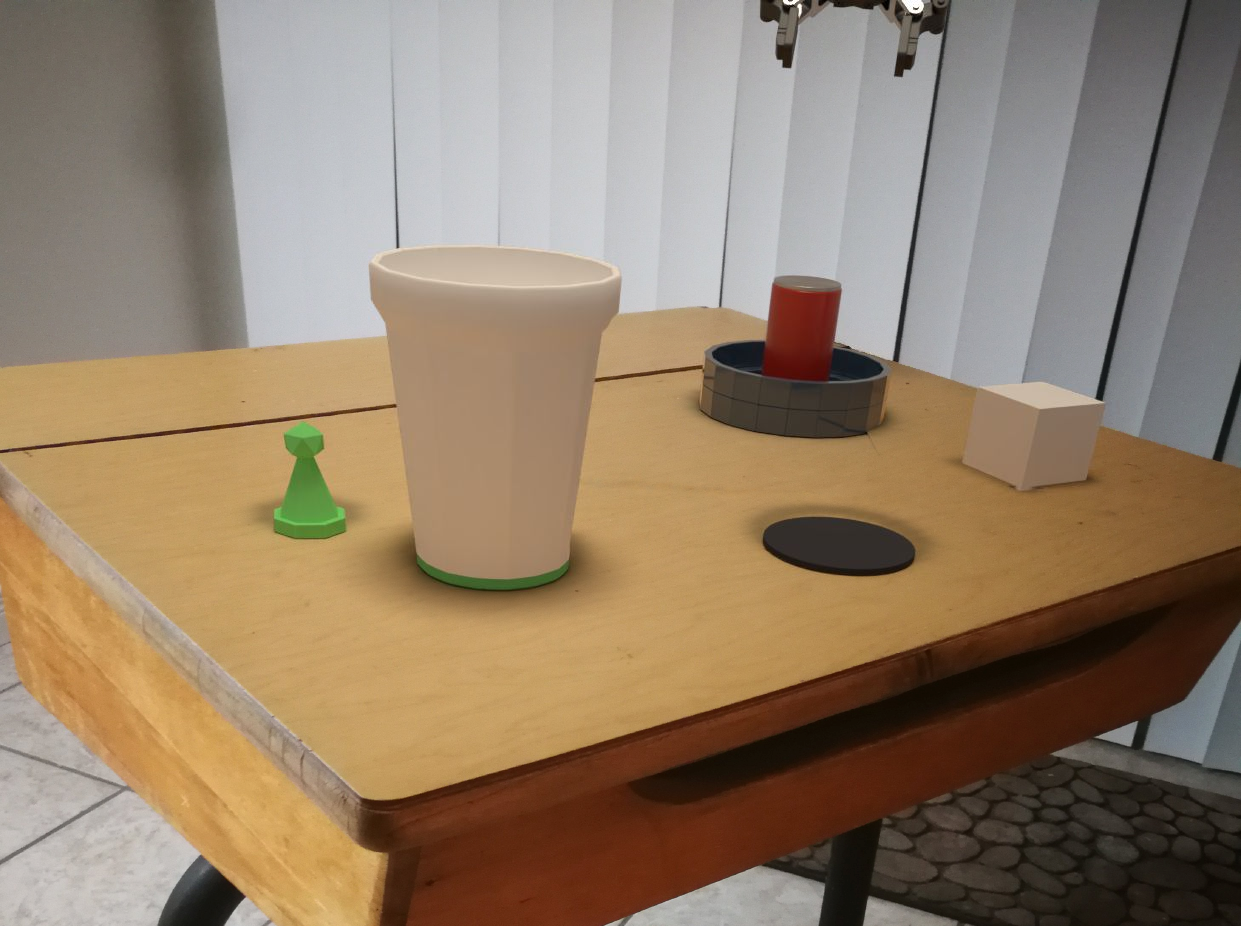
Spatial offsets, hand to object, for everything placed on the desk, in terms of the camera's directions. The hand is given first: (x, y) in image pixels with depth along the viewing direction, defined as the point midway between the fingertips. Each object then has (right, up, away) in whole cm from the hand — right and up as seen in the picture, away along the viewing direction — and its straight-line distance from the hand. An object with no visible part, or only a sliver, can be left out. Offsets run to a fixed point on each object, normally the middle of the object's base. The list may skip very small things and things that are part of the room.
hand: (843, 64), depth 99 cm
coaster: (-4, -42, -21) cm, 47 cm away
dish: (-4, -26, +3) cm, 26 cm away
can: (-4, -25, +3) cm, 26 cm away
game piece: (-35, -41, -23) cm, 59 cm away
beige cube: (+11, -34, -7) cm, 37 cm away
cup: (-24, -44, -26) cm, 57 cm away
